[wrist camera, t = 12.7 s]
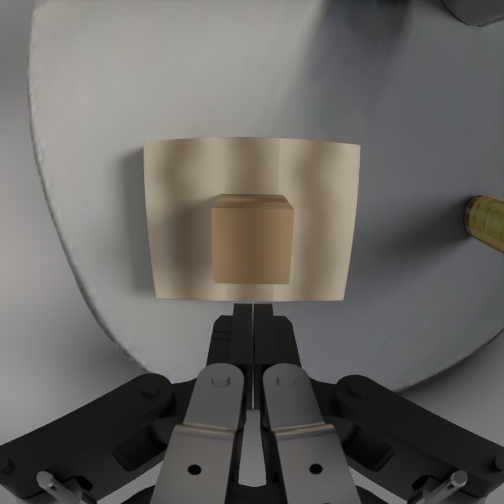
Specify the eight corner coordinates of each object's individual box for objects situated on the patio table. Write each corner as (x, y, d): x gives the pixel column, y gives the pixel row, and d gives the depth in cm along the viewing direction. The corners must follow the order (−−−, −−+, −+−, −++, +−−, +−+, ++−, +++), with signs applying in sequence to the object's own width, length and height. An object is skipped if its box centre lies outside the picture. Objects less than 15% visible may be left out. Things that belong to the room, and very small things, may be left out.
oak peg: (279, 190, 27) (294, 209, 19) (277, 243, 29) (289, 284, 20) (224, 189, 27) (211, 208, 18) (224, 242, 29) (213, 283, 20)
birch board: (348, 145, 26) (360, 145, 23) (334, 285, 32) (343, 300, 28) (155, 142, 26) (143, 142, 23) (164, 283, 32) (156, 297, 28)
